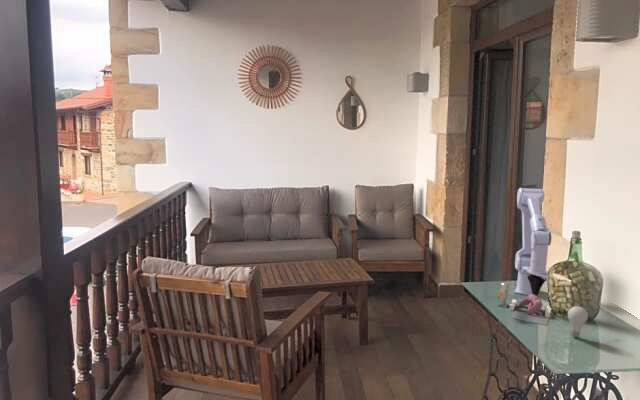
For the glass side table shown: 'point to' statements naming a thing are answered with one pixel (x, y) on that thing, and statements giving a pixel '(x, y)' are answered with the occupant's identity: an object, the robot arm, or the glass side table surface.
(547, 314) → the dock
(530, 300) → the video game controller
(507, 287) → the orange and grey bar
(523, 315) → the mat
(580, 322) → the lightbulb
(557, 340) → the glass side table surface
